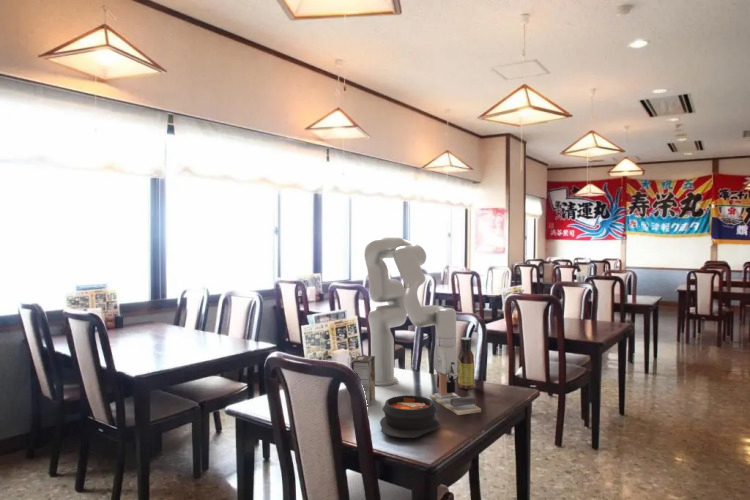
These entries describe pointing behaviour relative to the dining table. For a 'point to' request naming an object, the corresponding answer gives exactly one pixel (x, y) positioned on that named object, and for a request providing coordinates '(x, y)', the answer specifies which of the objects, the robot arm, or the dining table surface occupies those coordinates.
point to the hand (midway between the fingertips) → (445, 389)
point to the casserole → (408, 416)
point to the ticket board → (459, 412)
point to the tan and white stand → (443, 387)
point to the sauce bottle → (466, 365)
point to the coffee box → (366, 375)
